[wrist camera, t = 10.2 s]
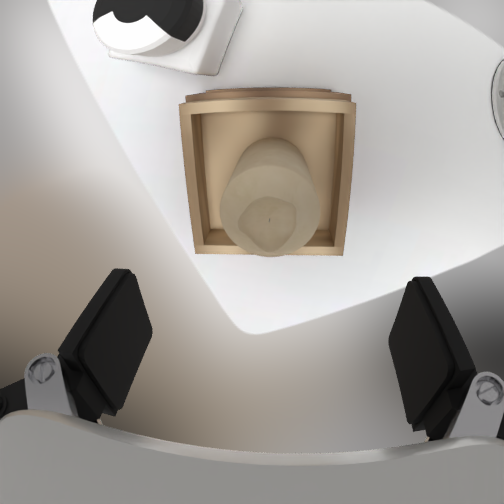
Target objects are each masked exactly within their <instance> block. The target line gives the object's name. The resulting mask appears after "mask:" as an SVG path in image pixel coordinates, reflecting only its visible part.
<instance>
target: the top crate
mask: <svg viewBox="0 0 504 504" xmlns="http://www.w3.org/2000/svg"><path fill="white" fill-rule="evenodd" d="M179 114H180V126H181V137H182V147H183V158H184V167H185V176H186V185H187V194H188V202H189V210H190V218H191V225H192V233H193V240H194V247H195V254H251V255H255V254H252V253H249V252H247V251H245V250H243V249H242V248H240V247H239V246H238V245H236V244H235V243H234V242H233V241H232V240H231V239H230V238H229V236H228V235H227V234H226V232H225V230H224V228H223V225H222V223H221V218H220V203H221V198H222V195H223V193H224V191H225V188H226V186H227V184H228V182H229V180H230V178H231V175H232V173H233V171H234V169H235V167H236V165H237V163H238V160H239V159H240V157H241V155H242V153H243V152H244V151H245V149H246V148H247V147H248V146H250V145H251V144H252V143H254V142H256V141H258V140H261V139H264V138H279V139H283V140H286V141H288V142H290V143H291V144H293V145H294V146H296V147H297V148H298V149H299V151H300V152H301V153H302V155H303V157H304V159H305V161H306V164H307V166H308V169H309V172H310V175H311V178H312V181H313V184H314V187H315V190H316V193H317V196H318V199H319V203H320V220H319V224H318V227H317V229H316V231H315V233H314V235H313V236H312V238H311V239H310V240H309V241H308V242H307V243H306V244H305V245H304V246H303V247H301V248H300V249H298V250H296V251H294V252H292V253H290V254H287V255H335V256H343V250H344V243H345V235H346V227H347V219H348V210H349V201H350V191H351V180H352V168H353V155H354V139H355V118H356V103H354V102H350V101H347V100H338V99H323V98H300V97H248V98H225V99H210V100H198V101H190V102H186V103H182V104H179Z"/></svg>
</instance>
